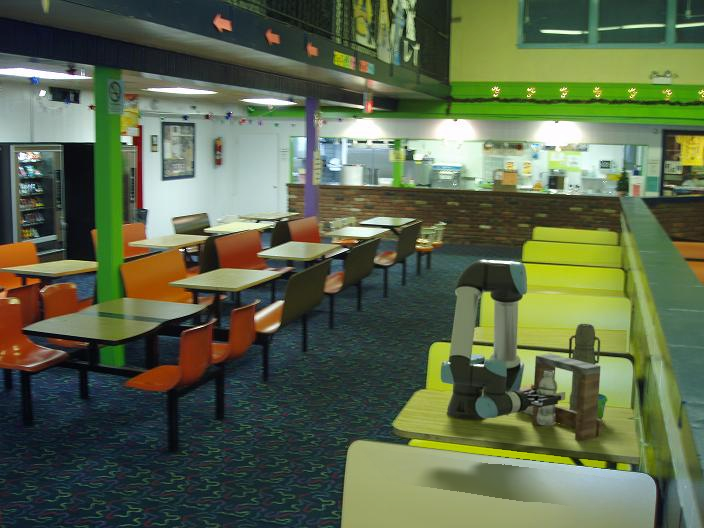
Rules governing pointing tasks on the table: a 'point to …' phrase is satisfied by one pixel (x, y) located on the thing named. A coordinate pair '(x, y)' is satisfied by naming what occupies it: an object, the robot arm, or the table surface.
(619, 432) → the table surface
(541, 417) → the plastic bottle
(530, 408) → the lidded bowl
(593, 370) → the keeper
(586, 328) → the thermos
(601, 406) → the snack cup
